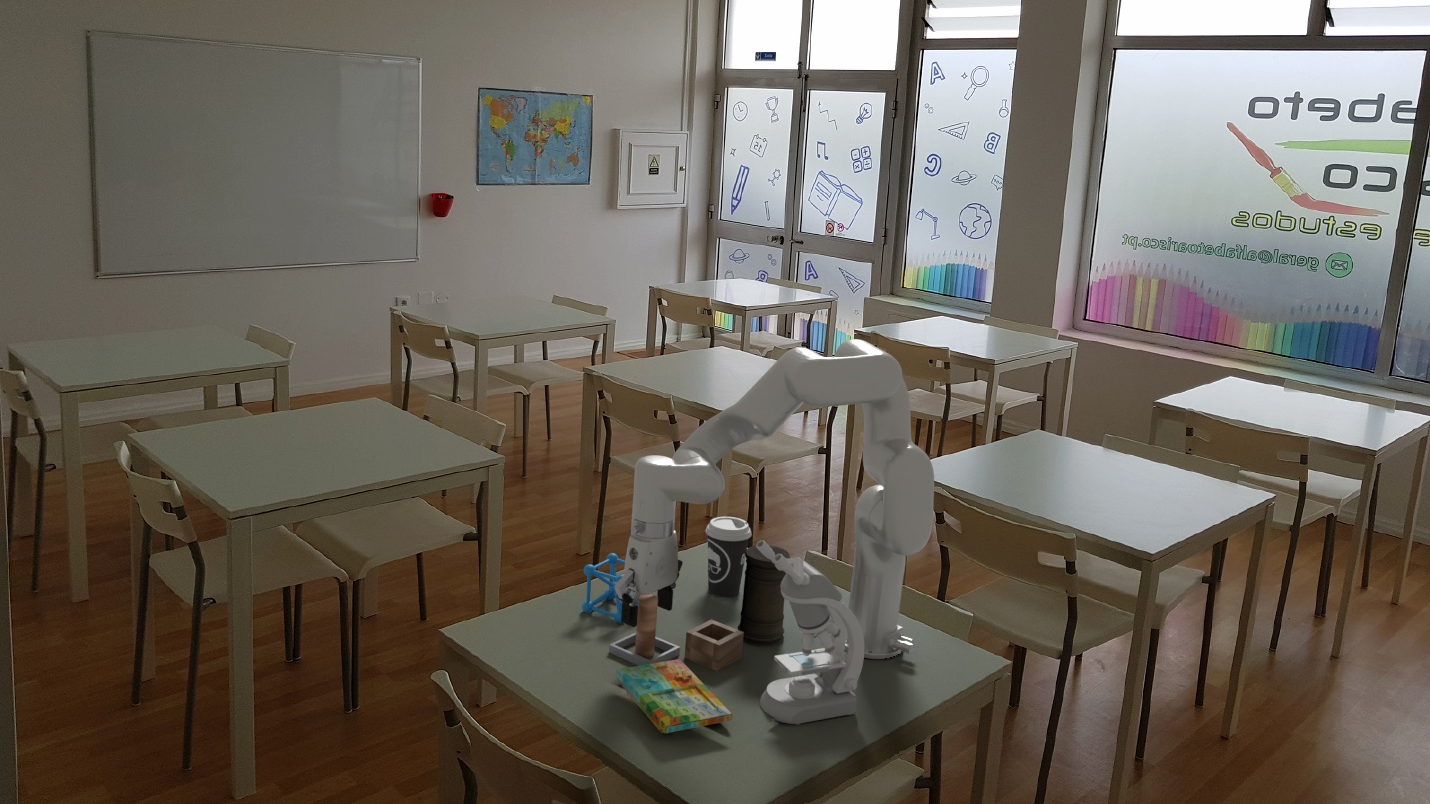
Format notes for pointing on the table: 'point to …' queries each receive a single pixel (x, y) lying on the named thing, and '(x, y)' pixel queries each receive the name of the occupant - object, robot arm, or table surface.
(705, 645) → the pin cup
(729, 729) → the table surface
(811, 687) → the microscope
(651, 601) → the dowel
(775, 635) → the container
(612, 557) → the molecular structure
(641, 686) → the puzzle game
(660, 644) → the tray
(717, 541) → the coffee cup
